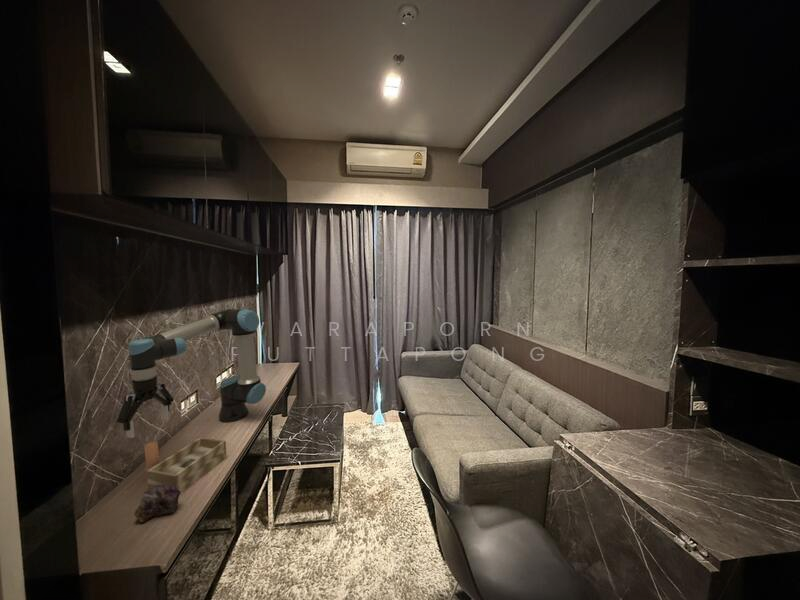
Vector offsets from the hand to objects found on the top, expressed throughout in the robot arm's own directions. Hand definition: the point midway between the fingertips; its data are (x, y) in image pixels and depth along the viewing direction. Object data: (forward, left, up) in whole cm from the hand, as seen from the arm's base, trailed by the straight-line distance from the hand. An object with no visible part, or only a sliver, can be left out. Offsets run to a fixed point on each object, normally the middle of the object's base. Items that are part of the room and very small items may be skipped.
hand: (149, 428), depth 121 cm
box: (-6, +12, -22) cm, 26 cm away
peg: (0, 0, -22) cm, 22 cm away
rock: (+13, +20, -22) cm, 33 cm away
